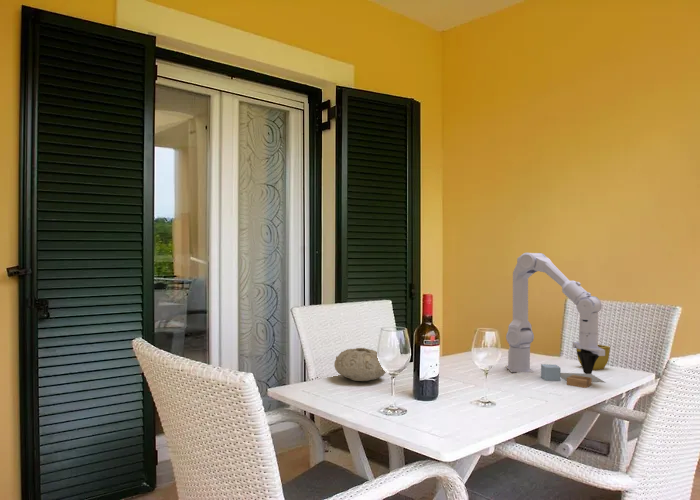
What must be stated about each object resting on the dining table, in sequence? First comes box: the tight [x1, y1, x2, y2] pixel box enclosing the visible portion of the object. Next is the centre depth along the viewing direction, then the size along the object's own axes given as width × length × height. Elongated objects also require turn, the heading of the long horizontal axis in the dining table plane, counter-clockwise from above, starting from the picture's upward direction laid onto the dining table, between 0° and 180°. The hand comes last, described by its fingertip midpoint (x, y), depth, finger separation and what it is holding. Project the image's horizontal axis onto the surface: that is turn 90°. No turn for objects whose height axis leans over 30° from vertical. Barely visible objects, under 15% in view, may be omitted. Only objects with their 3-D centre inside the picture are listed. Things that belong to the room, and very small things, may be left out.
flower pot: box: [575, 344, 611, 371], centre depth 202 cm, size 9×9×9 cm
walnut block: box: [566, 375, 593, 389], centre depth 175 cm, size 6×6×3 cm
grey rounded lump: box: [333, 347, 387, 382], centre depth 179 cm, size 18×18×10 cm
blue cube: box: [540, 363, 561, 382], centre depth 183 cm, size 5×5×5 cm
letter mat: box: [560, 372, 607, 384], centre depth 186 cm, size 13×13×1 cm
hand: (587, 373), depth 178 cm, fingers closed
